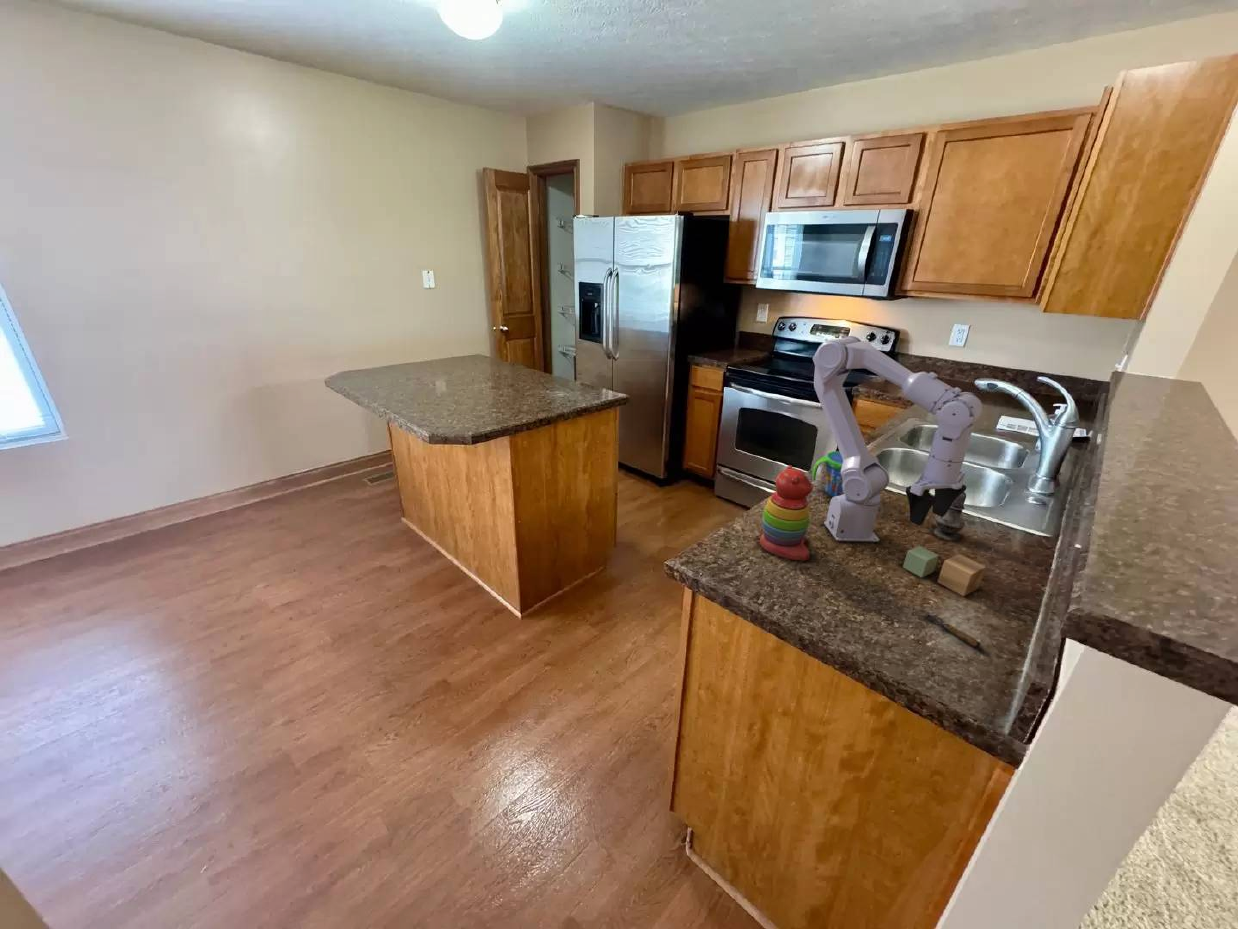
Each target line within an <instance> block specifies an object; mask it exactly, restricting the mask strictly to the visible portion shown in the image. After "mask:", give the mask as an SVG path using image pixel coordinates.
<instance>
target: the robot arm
mask: <svg viewBox="0 0 1238 929" xmlns="http://www.w3.org/2000/svg"><path fill="white" fill-rule="evenodd" d="M812 361H813V364H814V376H813V388H814V391H815V393H816V395H817V398H818V400H819V403H820V406H821V408H822V411H823V414H824V416H825V418H826V421H827V423H828V426H829V428H830V432H831V434H832V436H833V439H834V441H835V444H836V446H837V448H838V451H840V454H841V456H842V459H843V464H842V468H841V476H842V479H843V485H842V488H843V492H844V494H843V495H840V496H835V497H833V496H832V498H831V500H830V502H829V506H828V509H827V510H828V511H827V515H826V520H825V521H824V522H823V524H824V525H825V526H826V528H827V529H828V530H829V532H830V534H831V535H832V536H833V537H834V539H835V540H836V541H838V542H871V543H872V542H874V543H875V542H880V538H879V537H878V536H877V534H876V533H875V532H874V528H875V525H876V520H877V516H878V512H879V508H880V505H881V501H882V496H881V492H882V491H884V490H885V489H886V488H887V487H888V486H889V483H890V474H889V472H888V471H887V470H886V469H885V468H884V466H882V465H881V463H880V461H879V459H878V457H877V456H876V455H874V454H873V453H871V452H870V451H869V449H868V446H867V444H866V441H865V438H864V436H863V433H862V432H861V429H860V426H859V424H858V421H857V419H856V416H855V413H854V411H853V409H852V406H851V404H850V401H849V398H848V396H847V394H846V391H845V389H844V386H843V384H844V382H845V381H846V379H847V377H848V375H849V373H850V372H851V370H855V369H857V370H858V369H865V370H868V371H870V372H871V373H873V374H876V375H877V376H879V377H881V378H882V379H885V380H886V381H889V382H890V383H892V384H894V385H896V386H898V387H900V388H901V391H902V394H903V397H904V398H905V399H907V400H908V401H910V402H912V403H913V404H915V405H916V406H918V407H920V408H921V409H923V410H925V411H926V412H928V413H930V414H931V415H933V416H936V421H937V422H938V425H937V428H936V431H935V432H934V435H933V438H932V442H931V445H930V449H929V452H928V456H927V460H926V463H925V466H924V470H923V472H922V473H921V474H920V476H919V477H918V478H917V480H916V481H914V482H912V483H911V485H909V486H906V487H905V492H904V493H905V495H906V497H907V501H908V506H909V522H911V523H913V524H915V525H916V526H922V525H923V524H924V522H925V520H926V519H927V516H928V514H929V512H930V511H932V514H935V516H936V515H939V516H941V517H943V516H944V515H945V514H946V513H947V511H948V510H949V508H950V507H951V505H952V504H953V502H954V501H955V500H956V498H957V497H958V496H959V495H960V494H961V493H963V492H966V490H967V486H966V485H965V484H963V483H962V482H963V481H964V478H965V476H966V472H965V471H962V470H961V469H962V466H963V463H964V460H965V458H966V454H967V451H968V447H969V445H970V442H971V435H972V433H973V429H974V426H975V424H974V423H975V422H976V421H977V420H978V419H979V418H980V417H981V416H982V414H983V411H984V406H983V403H982V401H981V399H980V398H978V397H977V396H976V395H975V394H974V393H973V392H967V391H964V392H962V389H961V388H959V387H952V386H951V385H950V384H949V385H948V384H947V383H945V382H944V381H942V380H940V379H939V378H938V376H939V375H938V374H937V373H935V372H934V371H932V372H929V373H928V372H926V371H920V372H916V373H915V372H913V371H911V370H909V369H908V368H906V367H905V366H903V365H902V364H901V363H899V362H898V361H896V360H894V359H893V358H891V357H890V356H889V355H886V354H885V353H883V352H882V351H881V350H879V349H877V348H876V347H874V346H873V345H872V344H871V343H869V342H868V341H864V340H861V339H860V338H859V337H857V336H855V335H849V336H848V335H847V336H843V337H842V338H837V339H828V340H826V341H824V342H822V343H821V344H820V345H819V346H818V348H817V350H816V351H815V354H814V355H813V357H812ZM931 490H934V495H931V494H932V493H931ZM931 508H932V510H931Z"/></svg>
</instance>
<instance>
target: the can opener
mask: <svg viewBox="0 0 1238 929" xmlns="http://www.w3.org/2000/svg"><path fill="white" fill-rule="evenodd" d="M927 614H928V615H927V619H928V620H931V621H933V622H934V623H935V624H937V625H939V626H943V628H944V629H945V630H946V631H948V632H950V633H951V634H953V635H955V636H957V637H958V638H959V639H961V640H962V641H964V642H965V643H966V644H969V645H970V646H972V647H974V648H976V649H978V648H979V647H980V645H981V642H980V641H978V640H977V639H975V638H974V637H972V636H971V635H969V634H967V633H965V632H963V631H962V630H960V629H958V628H957V627H955V626H953V625H951V624H949V623H946V622H945V620H943V619H942V618H941V617H939V616H937V615H935V614H933V613H930V612H927Z"/></svg>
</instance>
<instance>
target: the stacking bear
mask: <svg viewBox="0 0 1238 929" xmlns="http://www.w3.org/2000/svg"><path fill="white" fill-rule="evenodd" d="M775 490H776V491H774V492H773V493H772V494H771V496H770V497H769V498H768V499H767V501H766V504H765V506H764V509H763V511H762V518H761V525H762V526H761V527H762V532H763V533H762V534H761V535H760V537H759V544H760V546H761V547H762V549H764V550H765V551H766V552H768V553H771V554H773V555H775V556H778V557H780V558H783V559H786V560H787V559H788V560H792V561H801V562H805V561H807V560H809V559H810V550H809V549H808V548H807V546H806V545H805V544H804V543H806V540H807V537H806V533H807V531H808V528H809V525H810V507H809V500H808V498H807V497H808V496H809V495H810V494H811V493H812V492H813V490H814V484H813V482H812V481H810V480H809V479H808V477H807V475H806V474H805V472H803V471H802V470H800V469H797V468H793V466H792V465H787V467H786V468H785V469H784V470H782V471H781V472H780V473H779V474H778V475H777V476H776V479H775Z"/></svg>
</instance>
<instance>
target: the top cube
mask: <svg viewBox="0 0 1238 929" xmlns="http://www.w3.org/2000/svg"><path fill="white" fill-rule="evenodd" d="M939 556H940V554H939V555H938V553H935V552H934V551H931V550H929V549H927V548H925V547H923V546H921V545H918V546H915V547H913V548H911V549H908V550H907V552H906V556H905V559H904V561H903V562H904V563H903V566H902V568H904V569H905V570H907V571H909V572H911V573H912V574H914V575H916V576H918V577H920V578H925V577H926V576H928V575H930V574H932V573H934V571H935V568H936V565H937V562H938V559H939Z"/></svg>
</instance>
